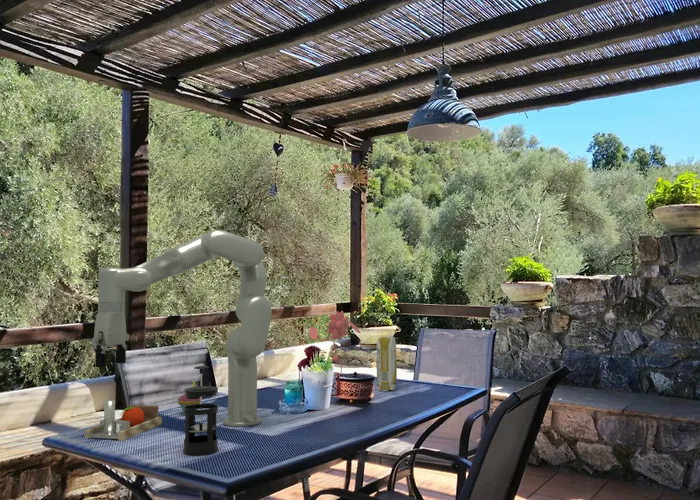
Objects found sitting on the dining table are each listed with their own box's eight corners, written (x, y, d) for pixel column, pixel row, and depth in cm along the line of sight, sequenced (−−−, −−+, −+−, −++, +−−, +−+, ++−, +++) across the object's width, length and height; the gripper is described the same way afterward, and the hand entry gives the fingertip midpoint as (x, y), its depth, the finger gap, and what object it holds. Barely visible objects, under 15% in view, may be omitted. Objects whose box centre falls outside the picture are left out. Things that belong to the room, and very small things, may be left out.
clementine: (125, 433, 185) (125, 409, 185) (114, 429, 189) (114, 407, 190) (148, 428, 191) (148, 405, 191) (137, 425, 195) (137, 403, 196)
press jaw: (102, 432, 183) (103, 398, 184) (129, 434, 181) (130, 399, 182) (90, 437, 178) (91, 401, 178) (118, 438, 175) (118, 402, 176)
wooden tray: (127, 423, 199) (128, 404, 199) (161, 424, 196) (161, 406, 196) (84, 439, 177) (85, 418, 178) (121, 441, 175) (122, 420, 175)
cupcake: (190, 410, 220) (190, 377, 221) (207, 412, 216) (207, 378, 216) (172, 414, 212) (172, 380, 213) (189, 416, 208) (190, 382, 209)
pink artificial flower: (303, 395, 248) (305, 311, 250) (349, 388, 266) (350, 309, 268) (327, 401, 237) (328, 312, 239) (373, 393, 255) (374, 311, 256)
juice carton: (394, 392, 255) (393, 335, 257) (376, 391, 257) (375, 335, 259) (397, 388, 264) (396, 334, 266) (380, 388, 266) (379, 334, 268)
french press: (226, 451, 162) (227, 366, 164) (196, 458, 156) (197, 369, 157) (202, 444, 170) (203, 362, 172) (172, 450, 163) (173, 366, 165)
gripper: (117, 307, 191) (117, 361, 190) (82, 309, 174) (81, 368, 173) (138, 307, 189) (138, 361, 188) (104, 309, 172) (104, 369, 171)
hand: (111, 365), depth 180 cm, fingers open, 9 cm apart
